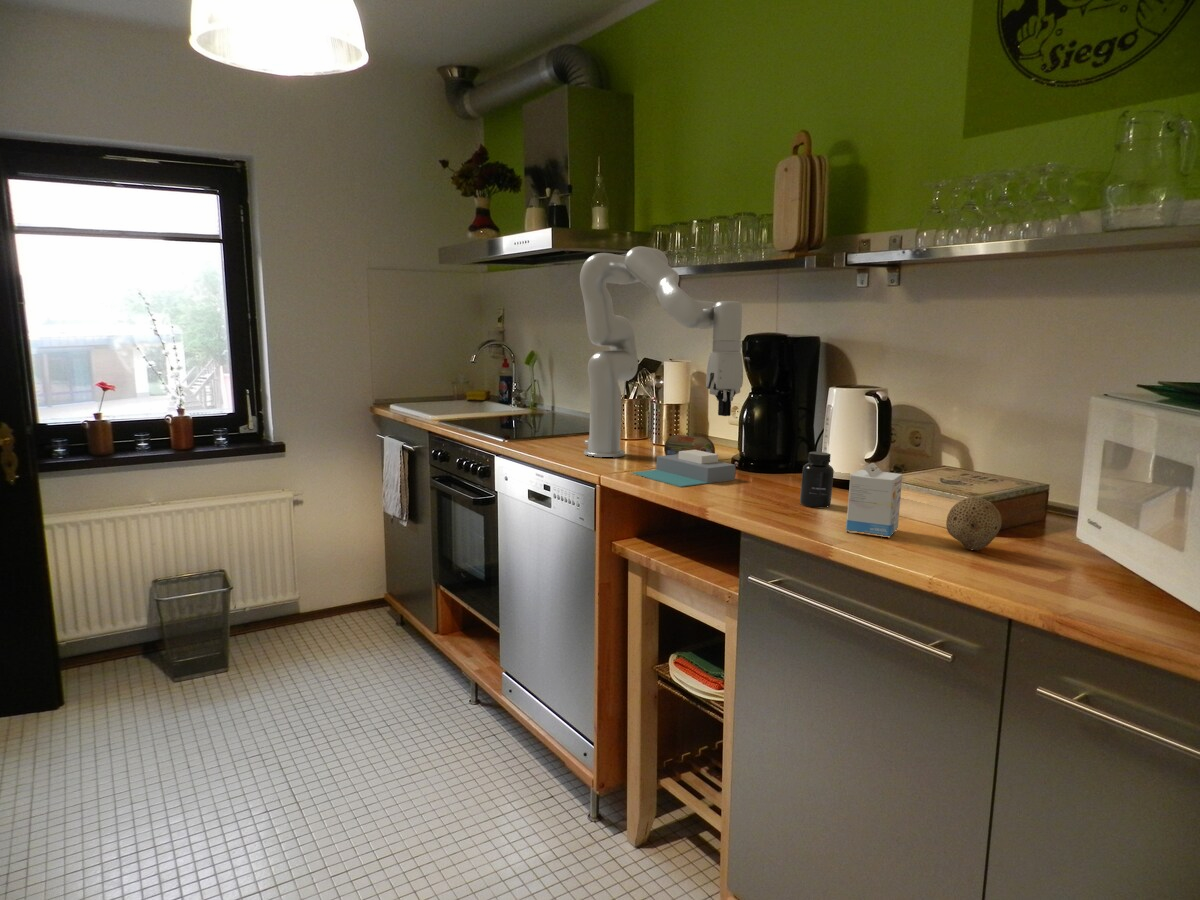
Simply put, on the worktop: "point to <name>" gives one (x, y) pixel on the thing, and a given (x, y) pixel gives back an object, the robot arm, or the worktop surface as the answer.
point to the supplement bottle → (817, 480)
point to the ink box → (874, 501)
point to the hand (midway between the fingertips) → (724, 415)
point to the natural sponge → (974, 522)
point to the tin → (688, 444)
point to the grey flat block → (696, 469)
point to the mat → (669, 478)
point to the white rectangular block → (698, 456)
